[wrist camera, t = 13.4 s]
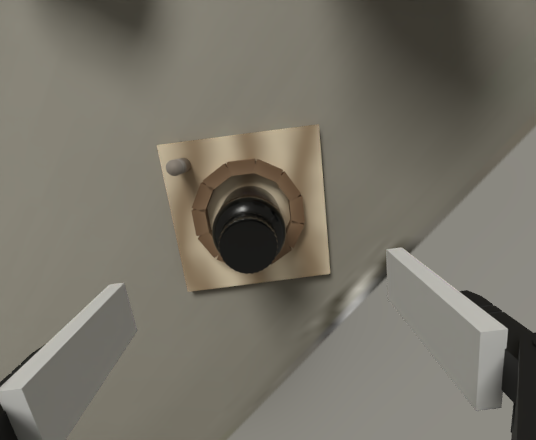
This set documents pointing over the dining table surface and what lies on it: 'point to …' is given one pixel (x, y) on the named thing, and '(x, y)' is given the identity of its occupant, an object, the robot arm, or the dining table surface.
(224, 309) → the dining table surface
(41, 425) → the robot arm
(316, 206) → the seat plate
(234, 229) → the supplement bottle
